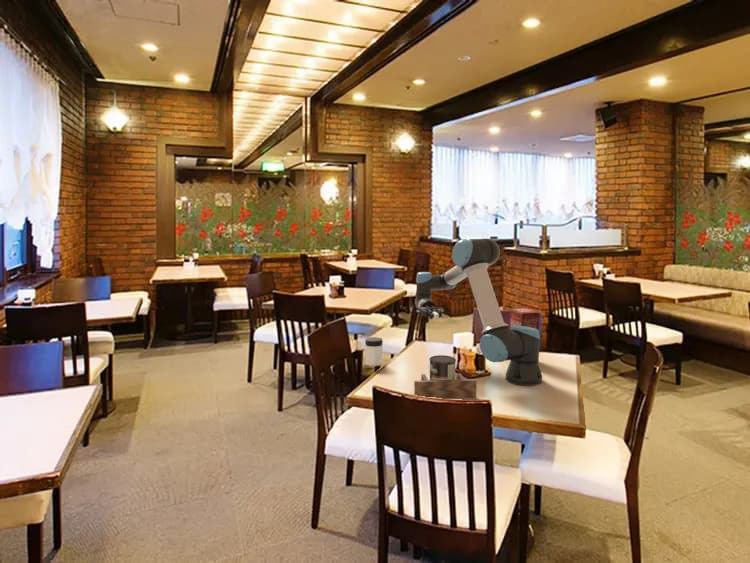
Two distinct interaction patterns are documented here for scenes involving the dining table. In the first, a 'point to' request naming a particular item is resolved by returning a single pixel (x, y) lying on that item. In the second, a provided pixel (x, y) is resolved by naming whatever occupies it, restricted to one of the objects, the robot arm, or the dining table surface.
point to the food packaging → (524, 318)
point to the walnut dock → (446, 387)
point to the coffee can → (442, 367)
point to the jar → (374, 351)
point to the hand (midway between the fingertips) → (437, 317)
